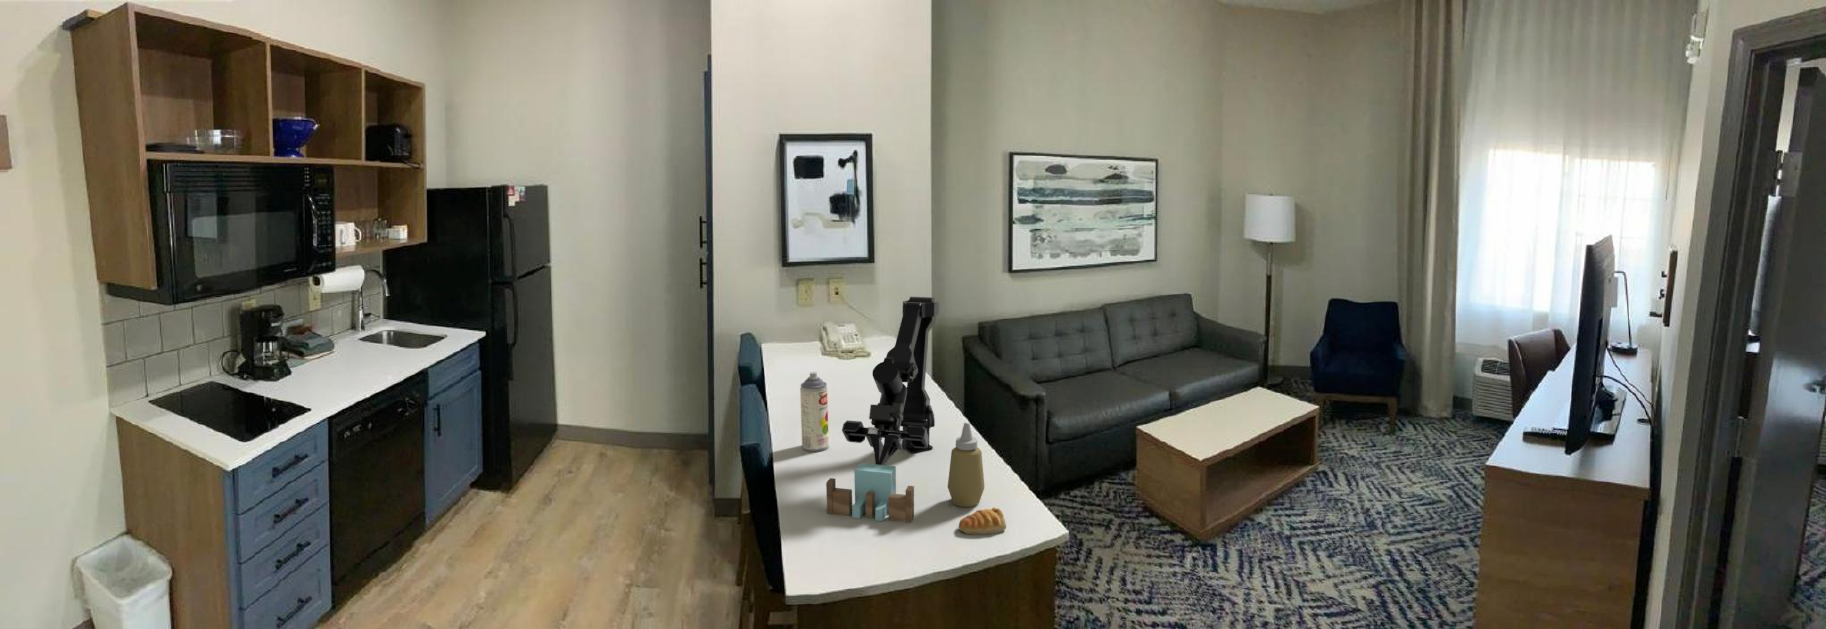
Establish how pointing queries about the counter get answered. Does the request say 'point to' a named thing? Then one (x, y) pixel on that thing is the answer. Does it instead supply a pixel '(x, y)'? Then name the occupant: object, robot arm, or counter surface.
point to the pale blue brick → (874, 488)
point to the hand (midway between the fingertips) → (878, 469)
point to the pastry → (983, 522)
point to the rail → (870, 502)
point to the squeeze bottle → (966, 470)
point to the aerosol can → (814, 414)
